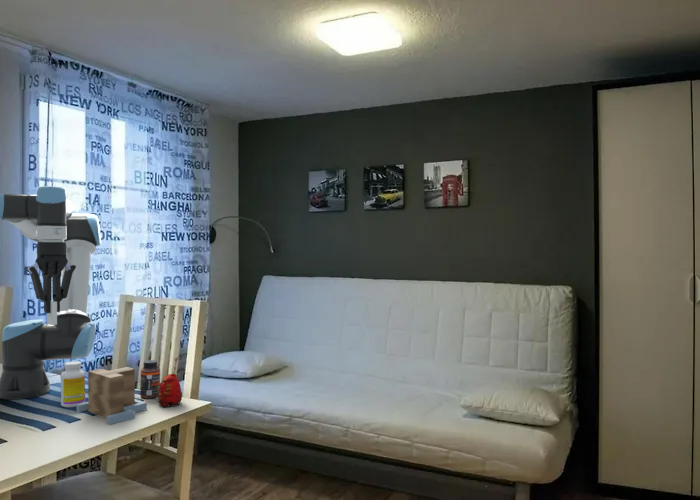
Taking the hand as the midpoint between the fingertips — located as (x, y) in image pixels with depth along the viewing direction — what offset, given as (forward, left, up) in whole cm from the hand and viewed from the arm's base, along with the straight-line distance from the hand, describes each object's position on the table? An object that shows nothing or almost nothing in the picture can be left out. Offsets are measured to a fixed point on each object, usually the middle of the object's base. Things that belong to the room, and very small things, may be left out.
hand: (52, 324), depth 162 cm
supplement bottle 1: (-6, +9, -27) cm, 29 cm away
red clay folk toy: (+16, +28, -27) cm, 42 cm away
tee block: (+10, +13, -26) cm, 31 cm away
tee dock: (+10, +13, -26) cm, 31 cm away
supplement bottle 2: (+4, +29, -27) cm, 40 cm away
